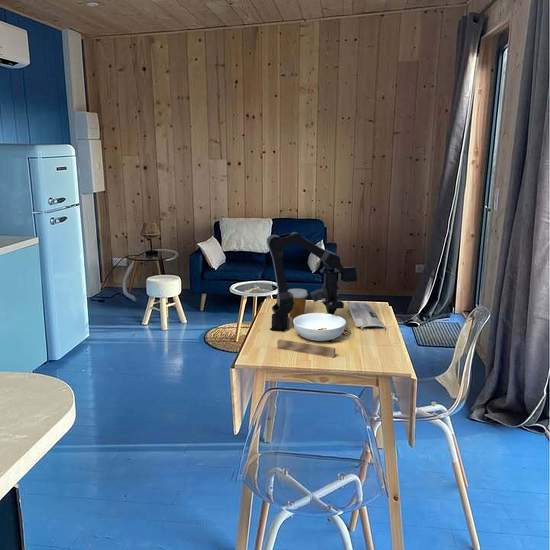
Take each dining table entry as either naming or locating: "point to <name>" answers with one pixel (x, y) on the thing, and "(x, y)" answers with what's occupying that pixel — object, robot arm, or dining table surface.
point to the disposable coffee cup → (298, 302)
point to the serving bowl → (319, 326)
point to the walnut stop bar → (306, 348)
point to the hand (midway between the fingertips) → (329, 319)
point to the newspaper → (364, 316)
